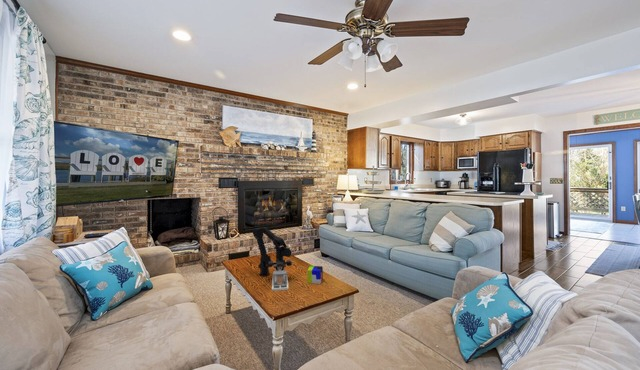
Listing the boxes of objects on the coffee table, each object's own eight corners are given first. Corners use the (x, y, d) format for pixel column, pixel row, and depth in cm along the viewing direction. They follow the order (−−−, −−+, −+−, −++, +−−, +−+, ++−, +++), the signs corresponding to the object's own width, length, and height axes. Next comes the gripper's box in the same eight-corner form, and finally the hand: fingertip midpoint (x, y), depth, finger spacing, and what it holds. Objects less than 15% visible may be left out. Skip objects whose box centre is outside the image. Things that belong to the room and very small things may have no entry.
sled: (284, 283, 201) (283, 273, 201) (276, 284, 200) (275, 274, 200) (283, 275, 216) (283, 266, 216) (276, 276, 215) (276, 266, 215)
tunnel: (286, 284, 200) (286, 273, 200) (273, 285, 198) (273, 274, 198) (286, 280, 207) (286, 270, 206) (273, 281, 205) (273, 270, 205)
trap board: (288, 289, 195) (288, 287, 195) (271, 290, 193) (271, 288, 193) (287, 276, 218) (287, 275, 218) (272, 278, 217) (272, 276, 216)
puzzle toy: (320, 283, 205) (320, 271, 204) (307, 282, 207) (307, 270, 206) (322, 278, 214) (322, 266, 214) (310, 277, 216) (310, 265, 216)
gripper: (267, 258, 204) (267, 278, 205) (291, 257, 207) (292, 277, 208) (267, 254, 215) (268, 273, 216) (291, 253, 218) (291, 271, 219)
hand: (279, 274), depth 214 cm, fingers closed on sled, 2 cm apart
